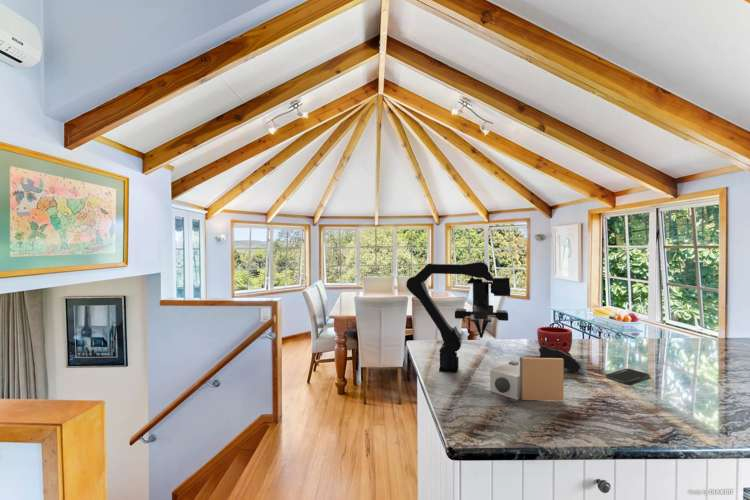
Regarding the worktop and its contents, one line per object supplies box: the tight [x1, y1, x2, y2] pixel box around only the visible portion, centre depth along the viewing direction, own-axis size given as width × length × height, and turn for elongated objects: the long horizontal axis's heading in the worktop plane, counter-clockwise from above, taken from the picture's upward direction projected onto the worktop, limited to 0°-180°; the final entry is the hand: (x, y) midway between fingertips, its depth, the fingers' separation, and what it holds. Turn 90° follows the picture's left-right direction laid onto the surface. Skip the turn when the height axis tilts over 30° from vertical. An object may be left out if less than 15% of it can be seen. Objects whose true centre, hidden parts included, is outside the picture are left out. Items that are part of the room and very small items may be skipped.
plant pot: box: [536, 326, 573, 356], centre depth 150 cm, size 13×13×12 cm
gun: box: [538, 345, 584, 374], centre depth 134 cm, size 3×16×10 cm, turn 79°
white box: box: [489, 360, 520, 400], centre depth 117 cm, size 9×15×8 cm, turn 133°
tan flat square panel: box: [519, 356, 565, 402], centre depth 109 cm, size 2×12×12 cm, turn 86°
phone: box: [605, 368, 651, 385], centre depth 127 cm, size 8×1×15 cm
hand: (481, 337), depth 133 cm, fingers closed
